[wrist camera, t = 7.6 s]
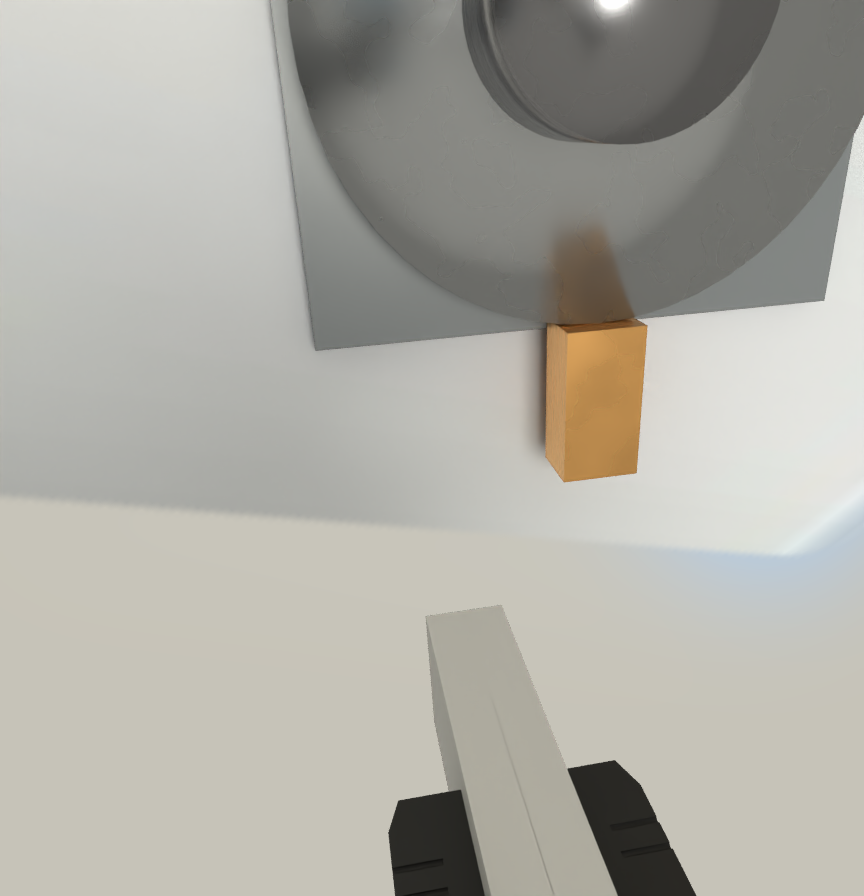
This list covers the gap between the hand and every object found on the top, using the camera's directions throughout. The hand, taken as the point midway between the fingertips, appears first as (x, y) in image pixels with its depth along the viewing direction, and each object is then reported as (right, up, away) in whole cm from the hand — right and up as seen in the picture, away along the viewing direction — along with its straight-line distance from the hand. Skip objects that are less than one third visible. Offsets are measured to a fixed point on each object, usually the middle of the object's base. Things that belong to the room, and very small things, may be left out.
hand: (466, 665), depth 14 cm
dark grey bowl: (+4, +18, +8) cm, 20 cm away
